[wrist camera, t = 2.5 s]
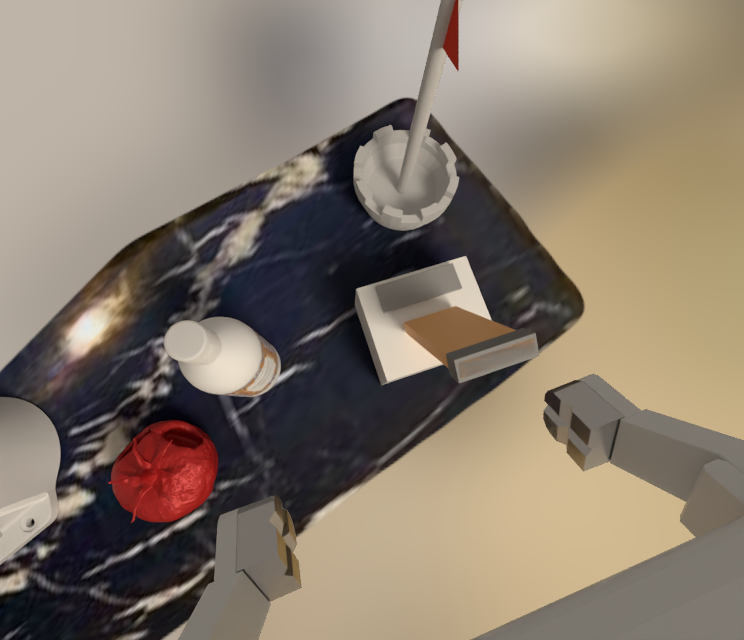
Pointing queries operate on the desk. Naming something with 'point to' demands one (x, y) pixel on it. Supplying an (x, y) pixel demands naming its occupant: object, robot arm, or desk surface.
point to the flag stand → (412, 149)
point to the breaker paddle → (471, 342)
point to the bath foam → (223, 356)
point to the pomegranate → (165, 471)
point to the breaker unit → (412, 313)
